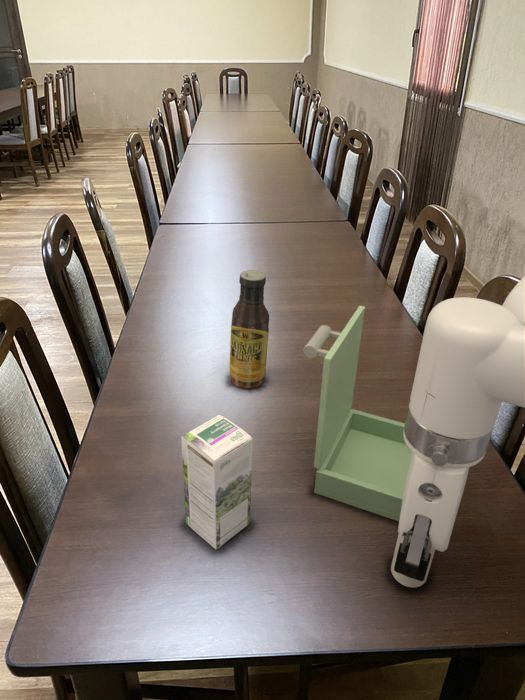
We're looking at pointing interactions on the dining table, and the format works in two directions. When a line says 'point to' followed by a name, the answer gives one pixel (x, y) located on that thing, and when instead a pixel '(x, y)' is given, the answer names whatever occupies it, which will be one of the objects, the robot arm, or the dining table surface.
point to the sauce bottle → (249, 332)
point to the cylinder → (402, 578)
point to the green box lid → (335, 379)
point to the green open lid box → (366, 465)
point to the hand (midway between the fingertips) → (413, 556)
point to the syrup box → (217, 479)
